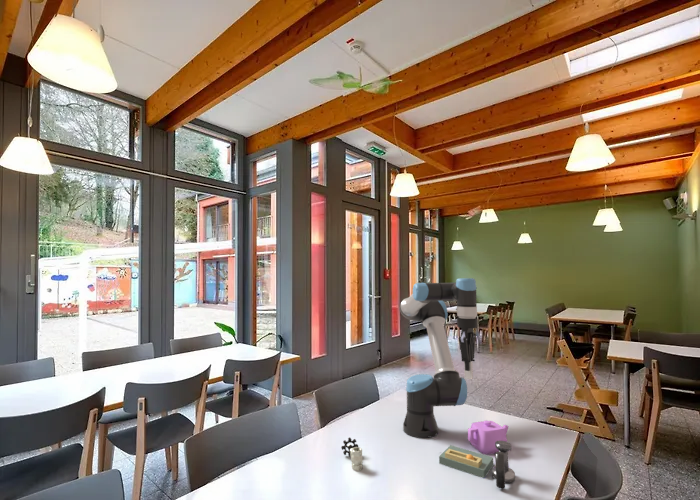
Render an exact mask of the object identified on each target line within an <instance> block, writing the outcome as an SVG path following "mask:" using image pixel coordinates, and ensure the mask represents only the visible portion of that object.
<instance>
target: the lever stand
mask: <svg viewBox="0 0 700 500" xmlns="http://www.w3.org/2000/svg"><path fill="white" fill-rule="evenodd" d="M438 459H439V460H438V463H439V465H442V466H445V467H449V468H452V469H454V470H458V471H462V472H464V473H468V474H471V475H472V476H477V477H480V478H483V479H485V478H486V476H487V475H488V473H490V470H491V469H492V468H493V467H494V457H493V456H490V455H488V454H482V453H481V452H476V451H472V450H469V449H465V448H462V447H458V446H455V445H451V444H450V445H449V446H448V447H447V448H445V450H444V451H443V452H442V453H441V454H440V455H439V456H438Z"/></svg>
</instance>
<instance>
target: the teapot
mask: <svg viewBox="0 0 700 500" xmlns="http://www.w3.org/2000/svg"><path fill="white" fill-rule="evenodd" d="M508 429H509V426H508V425H507V424H503V426H501V425H500V424H498V423H496V422H495V421H493V420H487V419H486V420H483V421H476V422H472V423H471V425H470V427H469V428H468V429H467V440H468V441H469V442H470V445H471V446H472V447H473V448H474V449H475V450H477V451H478V453H480V454H483V455H495V452H499V450H498V449H497V448H496V447H495V442H496V441H506V442H508V439H507V438H508V437H507V432H508Z"/></svg>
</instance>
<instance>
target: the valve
mask: <svg viewBox="0 0 700 500" xmlns="http://www.w3.org/2000/svg"><path fill="white" fill-rule="evenodd" d="M342 443H343V444H344V445H341V447H340V448H341V450H342V451H343V455H344V456H346V455H347V454H348V456H349V457H350V462H351V469H352V471H354V472H355V471H356V472H359V471H361V470H363V461H364V457H363V449H362V448H361V447H359V445H358V444H357V439H355V438H354V439H353V440H352V438H351V437H348V438H347V441H346V440H343V442H342ZM351 443H352V444H353V445H352V444H351Z"/></svg>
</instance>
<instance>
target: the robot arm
mask: <svg viewBox="0 0 700 500" xmlns="http://www.w3.org/2000/svg"><path fill="white" fill-rule="evenodd" d="M446 301H447V302H449V301H456V308H455V311H456V316H457V318H456V325H457V327H458V328H461V332H460V336H459V337H458V341H459V345H460V346H459V348H460V355H461V362H463V364H464V368H463V369H464V371H463V372H464V377H460V373H459V371H458V370H455V368H454V362H453V359H452V354H451V350H450V346H449V342H448V338H447V334H446V330H445V324H446V321H447V319H448V315H449V314H448V308H447V305H446ZM399 311H400V314H401V315H402V316H403V317H404V318H405V319H407V320H408V321H413V322H422V323H421V324H422V326H423V327H424V328H426V332H427V336H428V340H429V345H430V351H431V354H432V361H433V365H434V370H435V373H434V375H433V376H432V375H431V374H424V373H421V374H415V375H412V376H410V377H409V378H408V379H407V380H406V389H405V391H406V414H405V417H404V420H403V424H402V425H403V427H402V429H403V430H402V431H403V433H405V434H407V435H408V436H411V437H414V438H419V439H420V438H422V439H425V438H432V437H435V436H437V435H438V432H439V426H438V423H437V421H436V417H435V413H434V407H456V406H463V405H464V404H466V401H467V398H468V384H467V380H473V378H474V373H473V372H474V370H473V368H474V367H473V362H475V361H476V360H475V351H476V350H475V348H476V336H477V335H476V334H477V333H475V332H474V329H476V328H478V318H477V317H478V306H477V282H476V279H475V278H471V277H466V278H465V277H464V278H463V277H461V278H459V277H458V278H457V279H456V280H455V281H454V282H417V283H414V284H413V287H412V294H410V296H409V297H406V298H403V300H402V301H401V302H400V304H399Z"/></svg>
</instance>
